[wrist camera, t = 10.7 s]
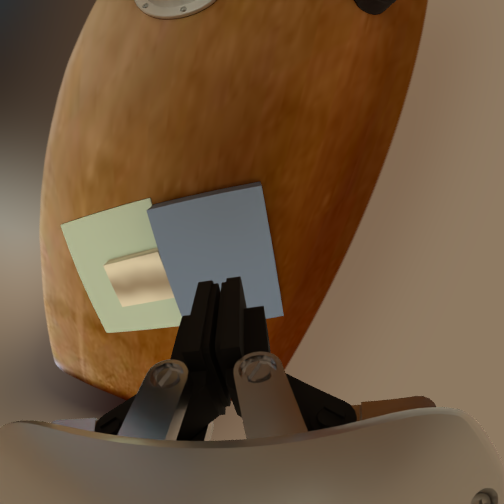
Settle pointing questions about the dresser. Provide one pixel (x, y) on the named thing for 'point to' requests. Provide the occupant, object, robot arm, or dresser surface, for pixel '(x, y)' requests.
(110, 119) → the dresser surface
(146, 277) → the birch block
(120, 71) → the dresser surface
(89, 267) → the mat
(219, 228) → the slate blue tile
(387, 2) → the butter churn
